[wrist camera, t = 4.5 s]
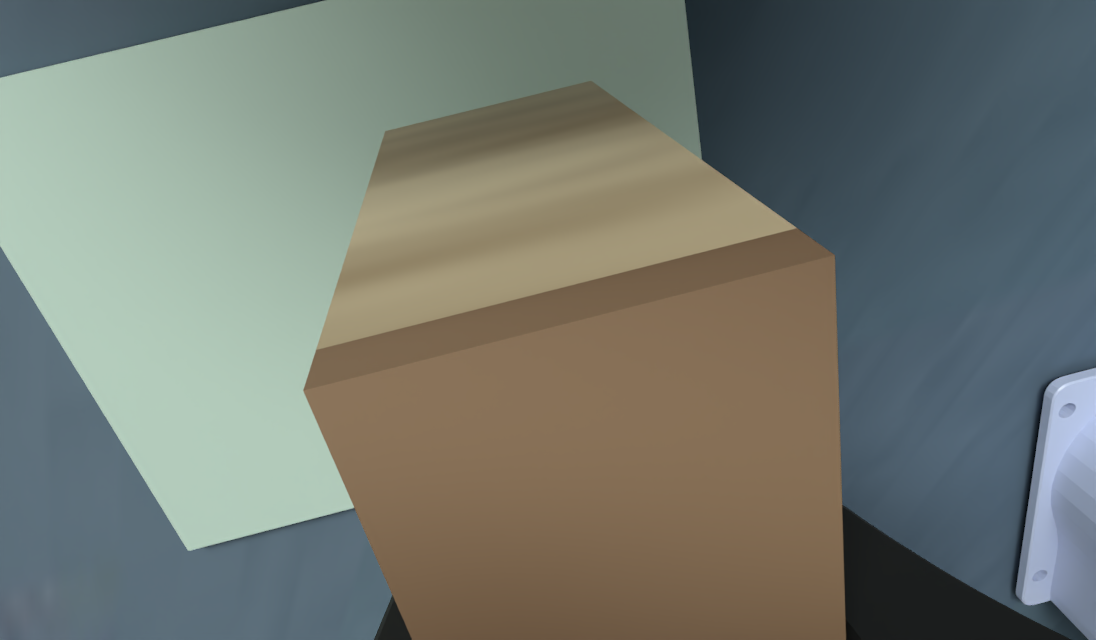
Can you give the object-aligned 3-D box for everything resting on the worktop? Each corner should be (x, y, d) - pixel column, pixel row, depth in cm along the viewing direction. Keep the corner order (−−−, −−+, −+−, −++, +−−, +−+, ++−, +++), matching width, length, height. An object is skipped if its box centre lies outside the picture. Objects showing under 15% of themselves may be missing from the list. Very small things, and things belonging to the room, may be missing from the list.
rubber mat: (723, 402, 20) (729, 410, 20) (192, 540, 20) (188, 551, 19) (669, -82, 14) (675, -83, 14) (-77, 95, 14) (-90, 99, 14)
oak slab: (674, 555, 15) (856, 1001, 9) (530, 594, 15) (602, 1073, 9) (591, 81, 11) (834, 255, 4) (385, 131, 11) (302, 389, 4)
